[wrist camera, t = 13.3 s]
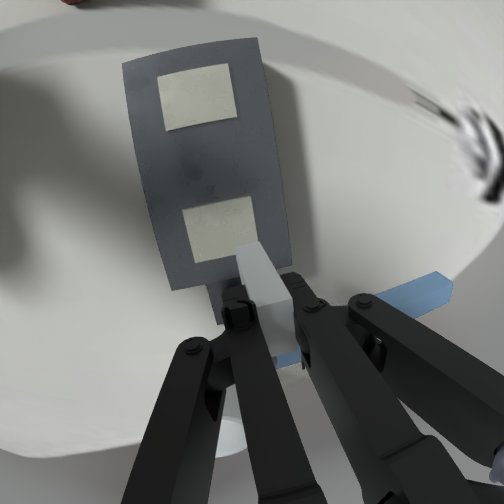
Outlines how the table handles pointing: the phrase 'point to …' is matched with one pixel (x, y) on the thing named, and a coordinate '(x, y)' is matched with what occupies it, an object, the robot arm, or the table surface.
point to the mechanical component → (70, 1)
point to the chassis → (207, 158)
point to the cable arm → (399, 304)
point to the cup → (231, 426)
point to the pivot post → (220, 295)
